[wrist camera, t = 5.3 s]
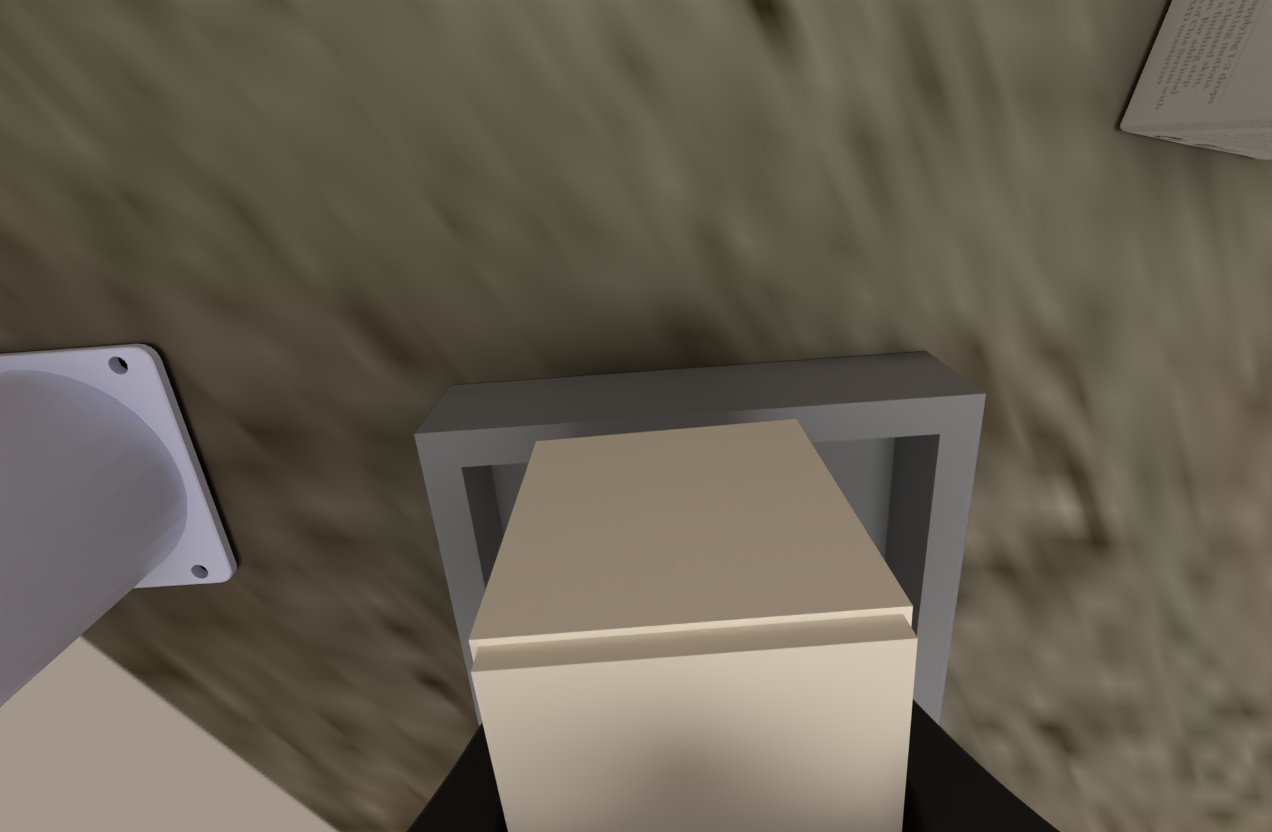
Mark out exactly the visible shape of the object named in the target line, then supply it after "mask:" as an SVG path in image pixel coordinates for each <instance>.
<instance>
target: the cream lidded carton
mask: <svg viewBox="0 0 1272 832" xmlns="http://www.w3.org/2000/svg"><path fill="white" fill-rule="evenodd" d="M912 611H913V605H912V604H911V602H910V601H909V599H908V597H907V596H906V594H905V592H904V591H903V589H902V588H901V586H900V584H899V583H898V581H897V580H896V578H895V576H894V575H893V573H892V572H891V570H890V568H889V567H888V565H887V564H886V562H885V560H884V559H883V557H882V556H881V554H880V552H879V551H878V549H877V548H876V546H875V544H874V543H873V541H872V540H871V538H870V536H869V535H868V533H867V532H866V530H865V528H864V527H863V525H862V524H861V522H860V520H859V519H858V517H857V516H856V514H855V512H854V511H853V509H852V507H851V506H850V504H849V503H848V501H847V499H846V498H845V496H844V495H843V493H842V491H841V490H840V488H839V487H838V485H837V483H836V482H835V480H834V479H833V477H832V475H831V474H830V472H829V471H828V469H827V467H826V466H825V464H824V463H823V461H822V459H821V458H820V456H819V455H818V453H817V451H816V450H815V448H814V447H813V445H812V443H811V442H810V440H809V439H808V437H807V435H806V434H805V432H804V430H803V429H802V427H801V426H800V424H799V422H798V421H797V419H790V420H778V421H766V422H755V423H743V424H731V425H720V426H708V427H696V428H685V429H673V430H662V431H650V432H638V433H627V434H615V435H603V436H592V437H580V438H568V439H557V440H545V441H536V443H535V446H534V449H533V452H532V455H531V458H530V461H529V464H528V467H527V470H526V473H525V476H524V479H523V482H522V485H521V487H520V490H519V493H518V496H517V499H516V502H515V505H514V508H513V511H512V514H511V517H510V520H509V523H508V526H507V529H506V532H505V534H504V537H503V540H502V543H501V546H500V549H499V552H498V555H497V558H496V561H495V564H494V567H493V570H492V573H491V576H490V579H489V582H488V584H487V587H486V590H485V593H484V596H483V599H482V602H481V605H480V608H479V611H478V614H477V617H476V620H475V623H474V626H473V629H472V631H471V634H470V637H469V644H470V649H471V653H472V657H473V662H474V663H473V667H472V670H471V675H472V680H473V684H474V688H475V692H476V697H477V701H478V705H479V710H480V714H481V718H482V722H483V727H484V731H485V735H486V739H487V744H488V748H489V752H490V757H491V761H492V765H493V769H494V774H495V778H496V782H497V787H498V791H499V795H500V799H501V804H502V808H503V812H504V816H505V821H506V825H507V829H508V832H902V823H903V811H904V799H905V787H906V775H907V762H908V750H909V738H910V726H911V714H912V702H913V690H914V678H915V666H916V654H917V641H918V638H917V636H916V635H915V633H914V631H913V630H912V628H911V624H912Z"/></svg>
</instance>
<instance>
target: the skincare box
mask: <svg viewBox="0 0 1272 832" xmlns="http://www.w3.org/2000/svg"><path fill="white" fill-rule="evenodd" d="M1120 129H1121V130H1122V131H1125V132H1129V133H1134V134H1139V135H1144V136H1149V137H1154V138H1158V139H1162V140H1167V141H1171V142H1176V143H1180V144H1185V145H1191V146H1196V147H1202V148H1207V149H1213V150H1218V151H1223V152H1228V153H1233V154H1239V155H1244V156H1248V157H1252V158H1256V159H1265V160H1272V0H1172V2H1171V5H1170V7H1169V9H1168V12H1167V14H1166V17H1165V19H1164V21H1163V24H1162V26H1161V29H1160V31H1159V33H1158V36H1157V38H1156V41H1155V43H1154V45H1153V48H1152V50H1151V53H1150V55H1149V57H1148V60H1147V62H1146V65H1145V67H1144V69H1143V72H1142V74H1141V76H1140V79H1139V81H1138V84H1137V86H1136V89H1135V91H1134V94H1133V96H1132V99H1131V101H1130V103H1129V106H1128V108H1127V110H1126V113H1125V115H1124V117H1123V120H1122V122H1121V124H1120Z"/></svg>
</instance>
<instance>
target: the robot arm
mask: <svg viewBox="0 0 1272 832" xmlns="http://www.w3.org/2000/svg"><path fill="white" fill-rule="evenodd" d="M118 357H120V358H122V359H123V360H125V362H126V363H127V365H128V369H125V368H124V367H122V366H121V364H120V363H119V358H118ZM199 565H202V566H203V567H205V568H206V569H207V571H205V570H204V569H202V568H201V567H200V566H199ZM236 569H237V565H236V561H235V558H234V556H233V553H232V550H231V548H230V545H229V542H228V539H227V537H226V534H225V531H224V529H223V526H222V523H221V520H220V518H219V515H218V512H217V510H216V507H215V504H214V501H213V499H212V496H211V493H210V490H209V488H208V485H207V482H206V480H205V477H204V474H203V471H202V469H201V466H200V463H199V461H198V458H197V455H196V452H195V450H194V447H193V444H192V442H191V439H190V436H189V433H188V431H187V428H186V425H185V423H184V420H183V417H182V414H181V412H180V409H179V406H178V403H177V401H176V398H175V395H174V393H173V390H172V387H171V384H170V382H169V379H168V376H167V374H166V371H165V368H164V365H163V363H162V360H161V358H160V356H159V355H158V353H157V352H156V351H155V350H154V349H153V348H151V347H149V346H147V345H145V344H127V345H114V346H100V347H87V348H73V349H60V350H46V351H33V352H19V353H6V354H0V707H1V706H2V705H3V704H4V703H5V702H6V701H8V700H9V699H10V698H11V697H12V696H13V695H14V694H15V693H17V692H18V691H19V690H20V689H21V688H22V687H23V686H24V685H26V684H27V683H28V682H29V681H30V680H31V679H32V678H33V677H35V675H37V674H38V673H39V672H40V671H41V670H42V669H43V668H45V667H46V666H47V665H48V664H49V663H50V662H51V661H52V660H53V659H55V658H56V657H57V656H58V655H59V654H60V653H61V652H62V651H64V649H66V648H67V647H68V646H69V645H70V644H71V643H72V642H74V641H75V640H76V639H77V638H78V637H79V636H80V635H81V634H83V633H84V632H85V631H86V630H87V629H88V628H89V627H90V626H91V625H93V624H94V623H95V622H96V621H97V620H98V619H99V618H100V617H101V616H103V615H104V614H105V613H106V612H107V611H108V610H109V609H110V608H112V607H113V606H114V605H115V604H116V603H117V602H118V601H119V600H120V599H122V598H123V597H124V596H125V595H126V594H127V593H128V592H129V591H130V590H132V589H133V588H145V587H160V586H175V585H190V584H205V583H221V582H225V581H227V580H228V579H230V578H231V576H232V575H233V574H234V573H235V572H236ZM407 832H508V829H507V825H506V821H505V816H504V812H503V808H502V804H501V799H500V795H499V791H498V787H497V782H496V778H495V774H494V769H493V765H492V761H491V757H490V752H489V748H488V744H487V739H486V735H485V731H484V727H483V722H482V723H481V725H480V726H479V728H478V729H477V731H476V733H475V734H474V736H473V737H472V739H471V741H470V742H469V744H468V745H467V747H466V749H465V750H464V752H463V753H462V755H461V756H460V758H459V760H458V761H457V763H456V764H455V766H454V767H453V768H452V770H451V771H450V773H449V774H448V776H447V777H446V778H445V780H444V781H443V783H442V784H441V786H440V787H439V788H438V790H437V791H436V793H435V794H434V796H433V797H432V798H431V800H430V801H429V803H428V804H427V805H426V807H425V808H424V810H423V811H422V812H421V813H420V815H419V816H418V817H417V819H416V820H415V821H414V823H413V824H412V825H411V827H410V828H409V829H408V830H407ZM902 832H1060V831H1058V830H1057V829H1056V828H1055V827H1053V826H1052V825H1051V824H1049V823H1048V822H1047V821H1046V820H1044V819H1043V818H1042V817H1040V816H1039V815H1038V814H1037V813H1036V812H1034V811H1033V810H1032V809H1031V808H1030V807H1028V806H1027V805H1026V804H1025V803H1023V802H1022V801H1021V800H1020V799H1019V798H1017V797H1016V796H1015V795H1014V794H1013V793H1011V792H1010V791H1009V790H1008V789H1007V788H1006V787H1004V786H1003V785H1002V784H1001V783H1000V782H999V781H998V780H996V779H995V778H994V777H993V776H992V775H991V774H990V773H989V772H987V771H986V770H985V769H984V768H983V767H982V766H981V765H980V764H979V763H978V762H977V761H976V760H974V759H973V758H972V757H971V756H970V755H969V754H968V753H967V752H966V751H965V750H964V749H963V748H962V747H960V746H959V745H958V744H957V743H956V742H955V741H954V740H953V739H952V738H951V737H950V736H949V735H948V734H947V733H946V732H945V731H944V730H943V729H942V728H941V727H940V726H939V725H938V724H937V723H936V722H935V721H934V720H933V719H932V718H931V717H930V716H929V715H928V714H927V713H926V712H925V711H924V710H923V709H922V708H921V707H920V705H919V704H918V703H917V702H916V701H915V700H914V699H913V702H912V714H911V726H910V738H909V750H908V762H907V775H906V787H905V799H904V811H903V823H902Z"/></svg>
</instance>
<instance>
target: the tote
mask: <svg viewBox="0 0 1272 832" xmlns="http://www.w3.org/2000/svg"><path fill="white" fill-rule="evenodd" d="M985 397H986V393H984V392H983V391H982V390H980V389H979V388H977V387H976V386H975V385H973V384H972V383H970V382H969V381H967V380H966V379H965V378H963V377H962V376H960V375H959V374H957V373H956V372H955V371H953V370H952V369H950V368H949V367H948V366H946V365H945V364H943V363H942V362H940V361H939V360H938V359H936V358H935V357H933V356H932V355H931V354H929V353H928V352H926V351H922V352H908V353H894V354H880V355H867V356H853V357H839V358H825V359H811V360H797V361H783V362H769V363H755V364H742V365H728V366H714V367H700V368H686V369H672V370H658V371H644V372H630V373H617V374H603V375H589V376H575V377H561V378H547V379H533V380H519V381H505V382H492V383H478V384H464V385H450V386H449V388H448V389H447V390H446V392H445V393H444V394H443V396H442V397H441V398H440V400H439V401H438V402H437V404H436V405H435V406H434V408H433V409H432V410H431V412H430V413H429V414H428V416H427V417H426V419H425V420H424V421H423V423H422V424H421V425H420V427H419V428H418V429H417V431H416V432H415V433H414V436H415V440H416V445H417V449H418V454H419V458H420V463H421V467H422V472H423V476H424V481H425V485H426V490H427V494H428V499H429V503H430V508H431V512H432V517H433V521H434V526H435V530H436V535H437V539H438V544H439V548H440V553H441V557H442V562H443V566H444V571H445V575H446V579H447V584H448V588H449V593H450V597H451V602H452V606H453V611H454V615H455V620H456V624H457V629H458V633H459V638H460V642H461V647H462V651H463V656H464V660H465V665H466V669H467V674H468V678H469V683H470V687H471V692H472V696H473V701H474V705H475V710H476V714H477V719H478V723H479V726H480V725H481V723H482V718H481V714H480V710H479V705H478V701H477V697H476V692H475V688H474V684H473V680H472V675H471V670H472V667H473V663H474V662H473V657H472V653H471V649H470V644H469V637H470V634H471V631H472V629H473V626H474V623H475V620H476V617H477V614H478V611H479V608H480V605H481V602H482V599H483V596H484V593H485V590H486V587H487V584H488V582H489V579H490V576H491V573H492V570H493V567H494V564H495V561H496V558H497V555H498V552H499V549H500V546H501V543H502V540H503V537H504V534H505V532H506V529H507V526H508V523H509V520H510V517H511V514H512V511H513V508H514V505H515V502H516V499H517V496H518V493H519V490H520V487H521V485H522V482H523V479H524V476H525V473H526V470H527V467H528V464H529V461H530V458H531V455H532V452H533V449H534V446H535V443H536V441H545V440H557V439H568V438H580V437H592V436H603V435H615V434H627V433H638V432H650V431H662V430H673V429H685V428H696V427H708V426H720V425H731V424H743V423H755V422H766V421H778V420H790V419H797V421H798V422H799V424H800V426H801V427H802V429H803V430H804V432H805V434H806V435H807V437H808V439H809V440H810V442H811V443H812V445H813V447H814V448H815V450H816V451H817V453H818V455H819V456H820V458H821V459H822V461H823V463H824V464H825V466H826V467H827V469H828V471H829V472H830V474H831V475H832V477H833V479H834V480H835V482H836V483H837V485H838V487H839V488H840V490H841V491H842V493H843V495H844V496H845V498H846V499H847V501H848V503H849V504H850V506H851V507H852V509H853V511H854V512H855V514H856V516H857V517H858V519H859V520H860V522H861V524H862V525H863V527H864V528H865V530H866V532H867V533H868V535H869V536H870V538H871V540H872V541H873V543H874V544H875V546H876V548H877V549H878V551H879V552H880V554H881V556H882V557H883V559H884V560H885V562H886V564H887V565H888V567H889V568H890V570H891V572H892V573H893V575H894V576H895V578H896V580H897V581H898V583H899V584H900V586H901V588H902V589H903V591H904V592H905V594H906V596H907V597H908V599H909V601H910V602H911V604H912V605H913V611H912V624H911V628H912V630H913V631H914V633H915V635H916V636H917V638H918V641H917V654H916V666H915V678H914V690H913V699H914V700H915V701H916V702H917V703H918V704H919V705H920V707H921V708H922V709H923V710H924V711H925V712H926V713H927V714H928V715H929V716H930V717H931V718H932V719H933V720H934V721H935V722H936V723H937V724H938V725H939V723H940V715H941V708H942V701H943V694H944V687H945V680H946V673H947V666H948V659H949V652H950V645H951V638H952V631H953V623H954V616H955V609H956V602H957V595H958V588H959V581H960V574H961V567H962V560H963V553H964V546H965V538H966V531H967V524H968V517H969V510H970V503H971V496H972V489H973V482H974V475H975V468H976V461H977V454H978V446H979V439H980V432H981V425H982V418H983V411H984V404H985Z"/></svg>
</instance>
